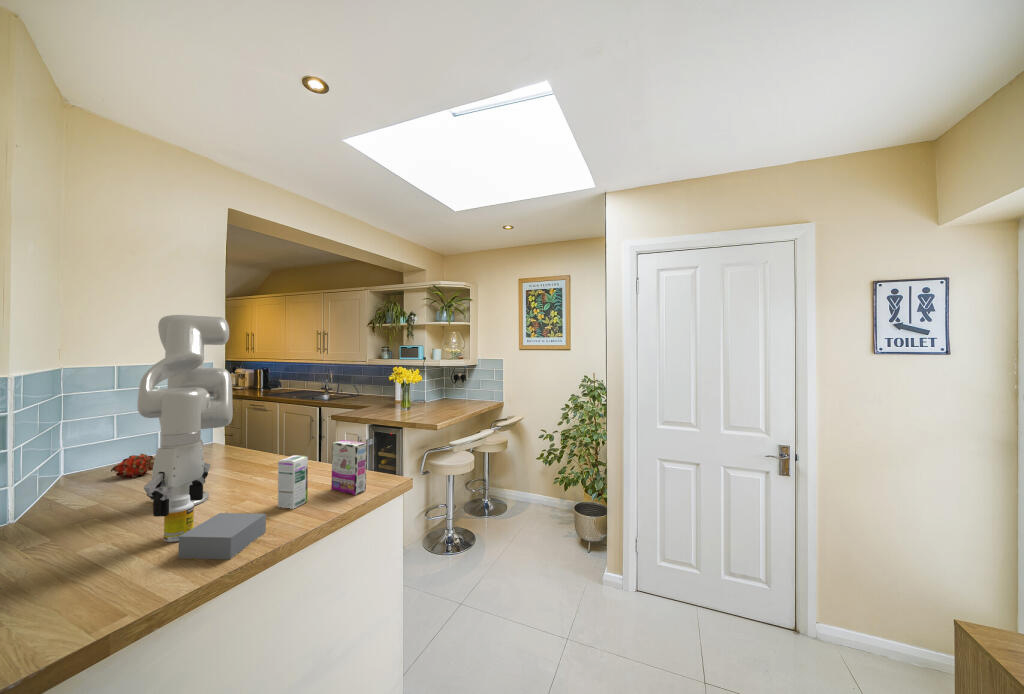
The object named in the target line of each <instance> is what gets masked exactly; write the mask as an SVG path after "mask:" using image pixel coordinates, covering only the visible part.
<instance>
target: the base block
mask: <svg viewBox="0 0 1024 694" xmlns="http://www.w3.org/2000/svg"><path fill="white" fill-rule="evenodd" d="M266 527H267V513H247V512H245V513H243V512H242V513H241V512H220V513H218V514H216V515H214V516H212V517H210V518H209V519H207V520H205V521H204V522H201V523H200V524H198V525H196V526H195V527H193V529H191V530H189V531H188V532H186V533H184V534H182V535H181V536H179V541H178V548H177V549H178V552H177V553H178V555H177V556H178V557H177V558H178V559H189V558H190V559H191V558H197V559H199V560H200V559H202V560H232V559H233V558H234V557H236V556H237V555H238V554H240V553H241V552H243V551H244V550H245V549H246V548H247V547H246V546H248V545H249V544H250V543H251V542H253V541H254V540H255V539H257V538H258V537H259V538H261V537H262V536H263V535H265V534H266V533H265V532H266ZM264 533H265V534H264ZM262 534H263V535H262ZM261 535H262V536H261ZM260 536H261V537H260ZM259 538H258V539H259ZM258 539H257V540H258ZM255 541H256V540H255ZM255 541H254V542H255ZM254 542H253V543H254ZM250 545H251V544H250ZM250 545H249V546H250ZM249 546H248V547H249ZM245 547H246V548H245ZM244 548H245V549H244ZM243 549H244V550H243ZM240 551H241V552H240ZM239 552H240V553H239ZM237 553H238V554H237ZM236 554H237V555H236ZM235 555H236V556H235ZM233 556H234V557H233ZM232 557H233V558H232ZM231 558H232V559H231ZM190 559H189V560H190Z"/></svg>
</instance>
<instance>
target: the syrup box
mask: <svg viewBox="0 0 1024 694" xmlns="http://www.w3.org/2000/svg"><path fill="white" fill-rule="evenodd" d="M308 461H309V457H308V456H306V455H301V454H299V455H296V454H295V455H293V454H292V455H291V456H289V457H286V458H283V459H280V460H278V462H277V465H278V466H277V507H278V508H280V507H281V508H280V509H285V508H290V509H289V510H295V509H296V508H298V507H300V506H302V505H303V504H305V502H306V503H307V502H308V498H309V497H308V495H309V493H308V490H309V489H308V488H309V487H308V479H309V476H308V475H309V473H308V471H309V469H308V468H309V467H308V465H309V463H308ZM294 508H295V509H294Z"/></svg>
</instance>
